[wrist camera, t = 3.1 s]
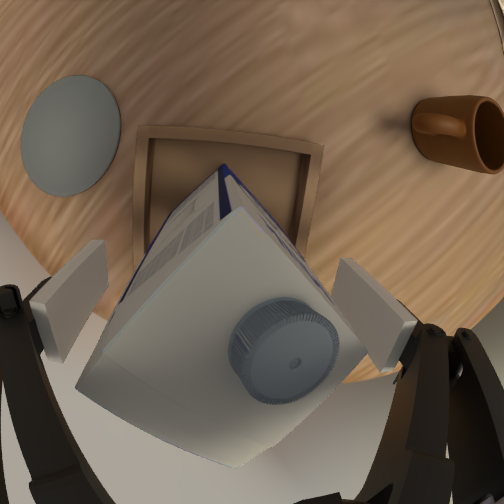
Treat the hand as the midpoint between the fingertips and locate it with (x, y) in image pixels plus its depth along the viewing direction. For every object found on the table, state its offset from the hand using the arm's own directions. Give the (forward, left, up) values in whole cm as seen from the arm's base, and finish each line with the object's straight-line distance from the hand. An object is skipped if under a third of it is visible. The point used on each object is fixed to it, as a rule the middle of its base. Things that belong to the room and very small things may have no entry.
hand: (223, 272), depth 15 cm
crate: (0, 0, -12) cm, 12 cm away
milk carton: (0, 0, -11) cm, 11 cm away
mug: (-13, +20, -12) cm, 27 cm away
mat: (-7, -16, -12) cm, 21 cm away
